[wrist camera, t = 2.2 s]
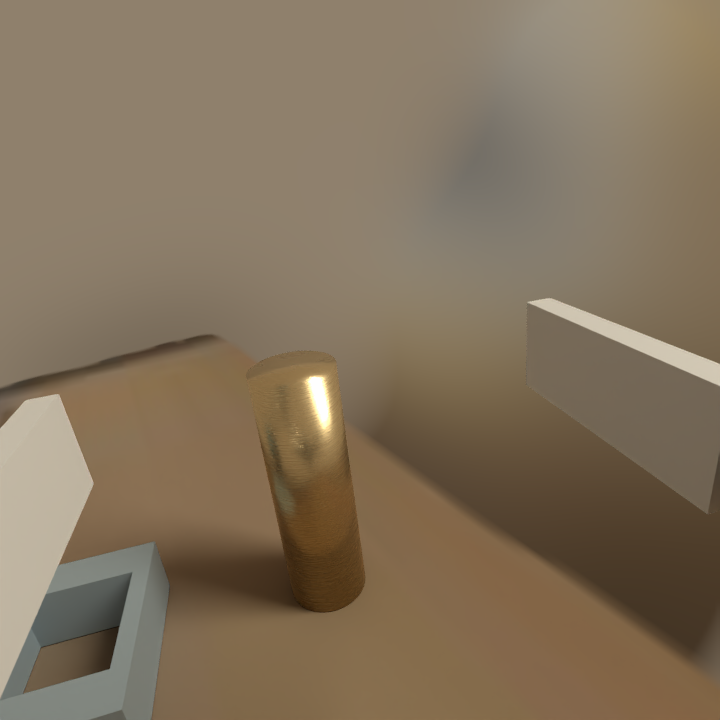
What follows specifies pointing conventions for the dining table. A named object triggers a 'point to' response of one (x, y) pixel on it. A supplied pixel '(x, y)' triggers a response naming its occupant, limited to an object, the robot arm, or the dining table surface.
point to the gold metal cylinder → (309, 475)
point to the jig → (89, 615)
